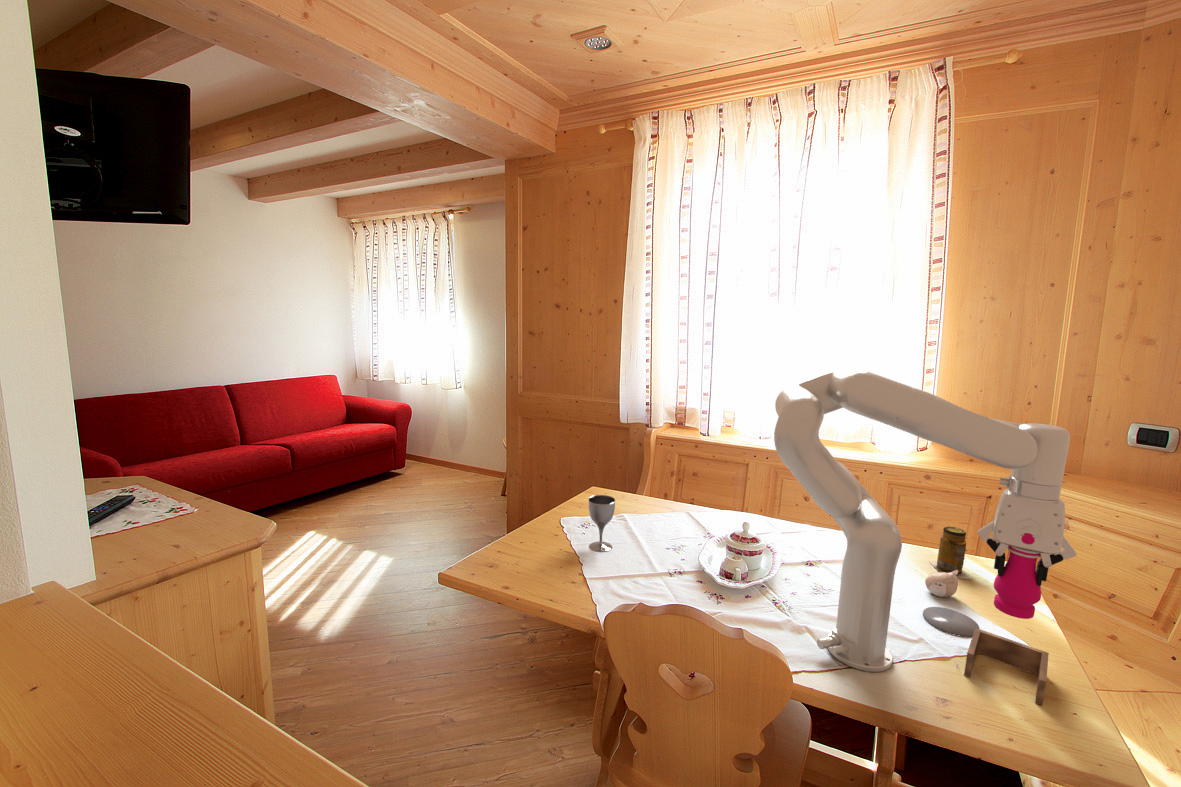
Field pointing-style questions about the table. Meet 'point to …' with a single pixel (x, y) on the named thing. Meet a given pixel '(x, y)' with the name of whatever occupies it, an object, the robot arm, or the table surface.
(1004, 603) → the pepper mill
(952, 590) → the beige plush toy
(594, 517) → the wine glass
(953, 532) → the condiment
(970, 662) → the cradle
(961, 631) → the coaster
